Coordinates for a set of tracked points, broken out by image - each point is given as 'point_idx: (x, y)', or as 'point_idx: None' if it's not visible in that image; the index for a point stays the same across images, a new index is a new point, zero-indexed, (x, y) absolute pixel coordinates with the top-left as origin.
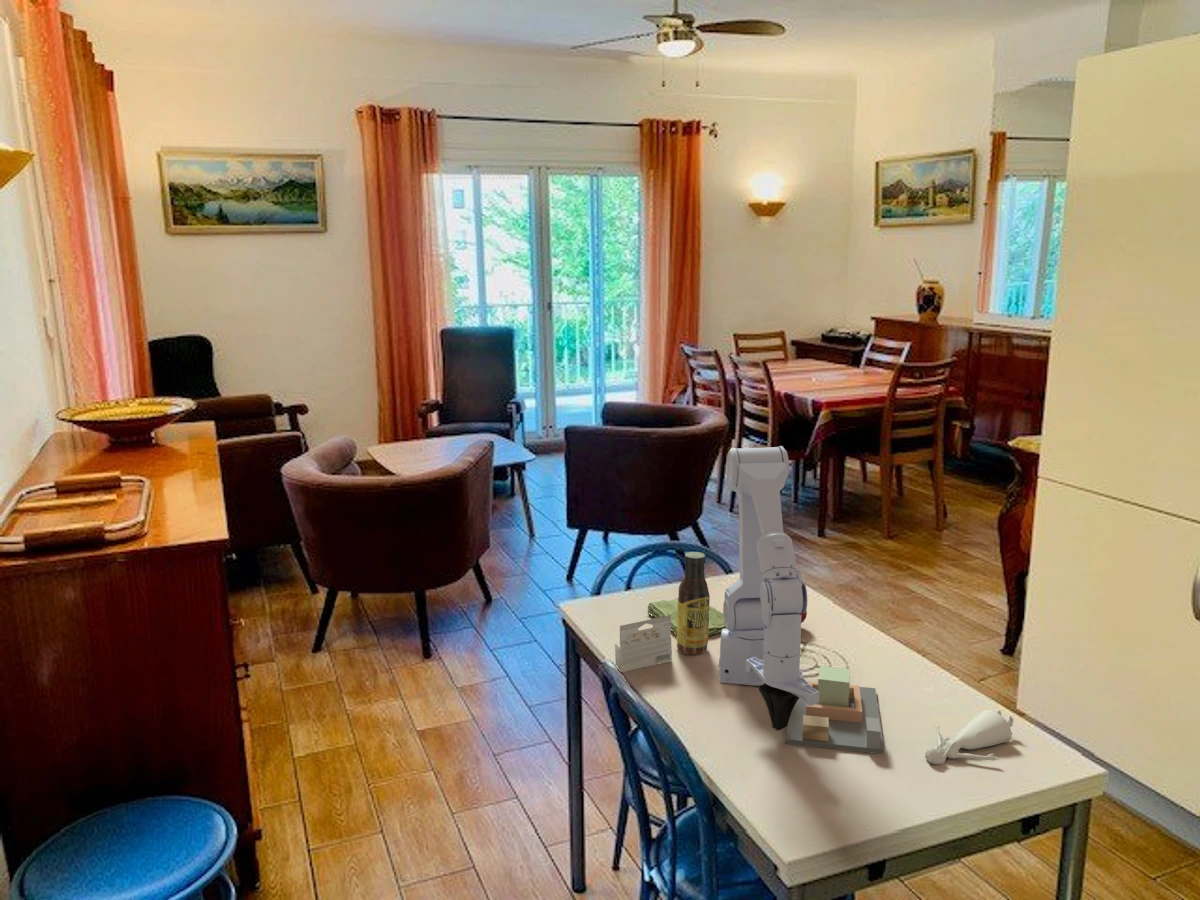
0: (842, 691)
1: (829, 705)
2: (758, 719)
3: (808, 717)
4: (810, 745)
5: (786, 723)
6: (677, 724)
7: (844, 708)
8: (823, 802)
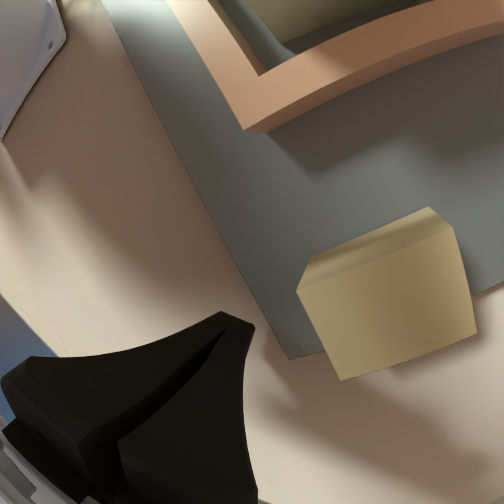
0: None
1: (334, 1)
2: (130, 245)
3: (337, 298)
4: None
5: (248, 344)
6: None
7: (448, 15)
8: (457, 479)
